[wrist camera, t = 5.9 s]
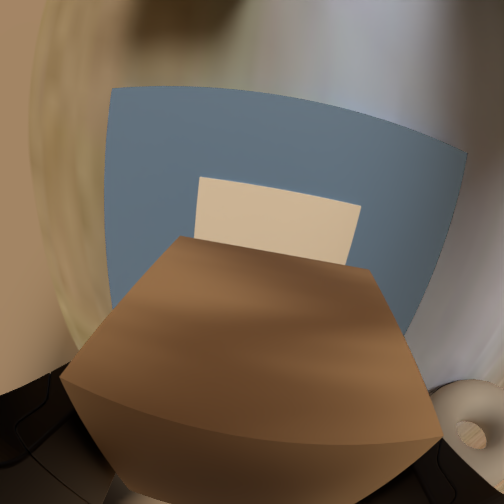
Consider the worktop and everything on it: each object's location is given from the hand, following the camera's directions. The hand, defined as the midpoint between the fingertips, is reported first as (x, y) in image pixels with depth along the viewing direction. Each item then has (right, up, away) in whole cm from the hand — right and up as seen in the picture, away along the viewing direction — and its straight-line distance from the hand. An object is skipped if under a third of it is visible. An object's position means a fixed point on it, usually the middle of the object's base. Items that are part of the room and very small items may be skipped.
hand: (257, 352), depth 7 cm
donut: (+15, -7, +9) cm, 19 cm away
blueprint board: (+1, +2, +6) cm, 6 cm away
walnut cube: (0, 0, +1) cm, 1 cm away
